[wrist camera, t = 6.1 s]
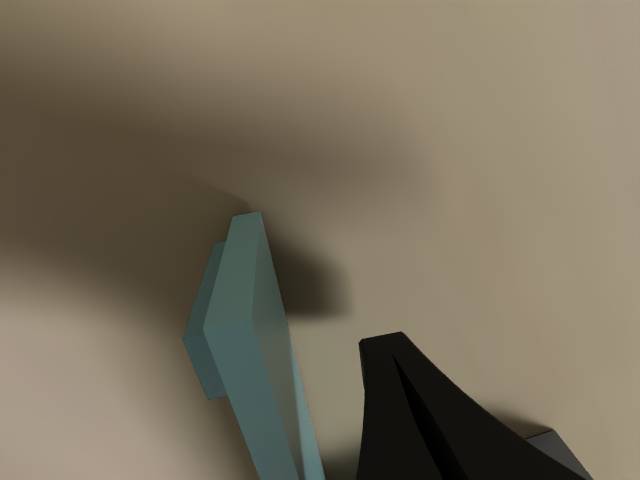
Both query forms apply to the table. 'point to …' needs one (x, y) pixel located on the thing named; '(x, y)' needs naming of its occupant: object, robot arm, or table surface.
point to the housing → (558, 451)
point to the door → (253, 353)
